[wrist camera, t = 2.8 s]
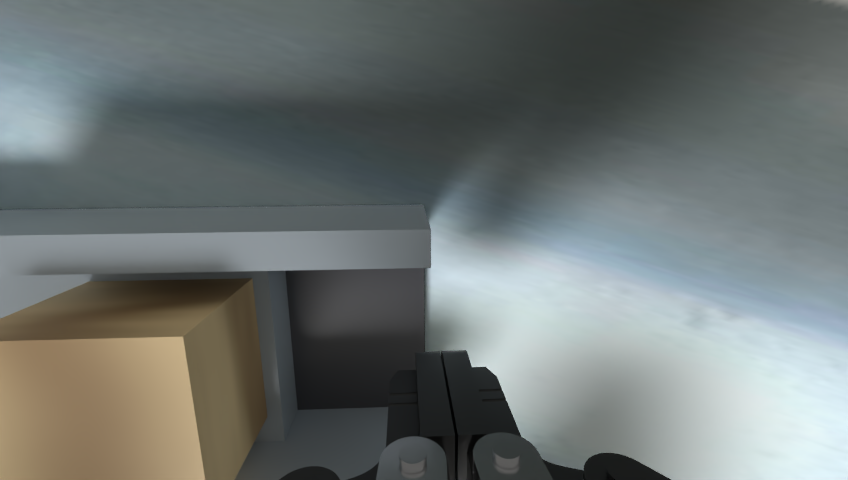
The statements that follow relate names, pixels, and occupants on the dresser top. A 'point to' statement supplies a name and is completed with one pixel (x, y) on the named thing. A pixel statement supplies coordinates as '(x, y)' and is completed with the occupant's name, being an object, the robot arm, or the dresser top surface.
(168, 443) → the oak block
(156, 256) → the grey angular piece
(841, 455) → the dresser top surface
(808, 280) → the dresser top surface
